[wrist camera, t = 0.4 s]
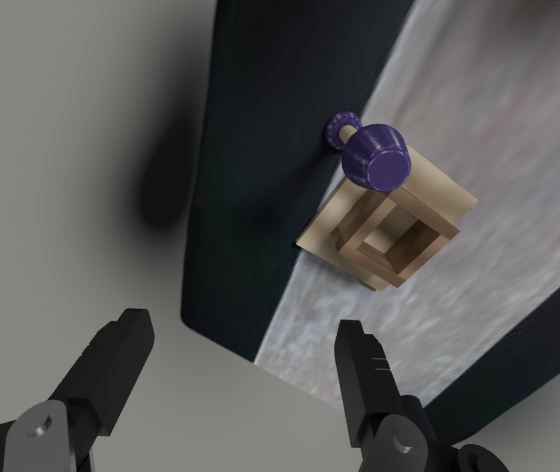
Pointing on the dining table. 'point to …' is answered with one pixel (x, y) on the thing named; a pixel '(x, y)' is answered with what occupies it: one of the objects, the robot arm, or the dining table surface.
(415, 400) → the wine bottle
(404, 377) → the dining table surface
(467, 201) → the socket board
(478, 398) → the dining table surface
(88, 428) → the robot arm
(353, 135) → the toy lamp
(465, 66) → the dining table surface
